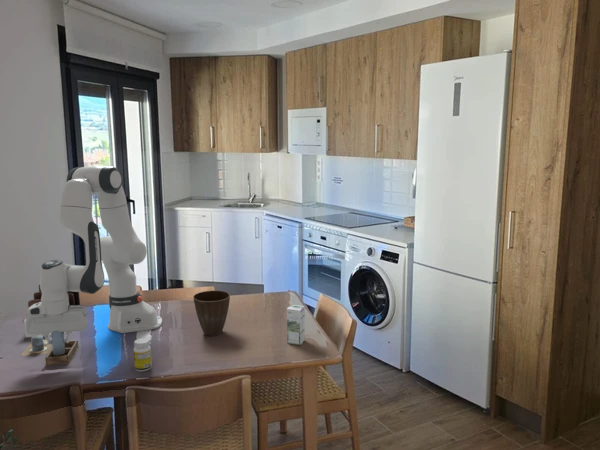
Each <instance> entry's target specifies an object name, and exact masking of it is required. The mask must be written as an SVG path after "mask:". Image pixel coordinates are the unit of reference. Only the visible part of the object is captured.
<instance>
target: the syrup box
mask: <svg viewBox="0 0 600 450" xmlns="http://www.w3.org/2000/svg"><path fill="white" fill-rule="evenodd" d="M305 308H306V306H305V305H297V304H290V305H289V306H288V307H287V308H286V343H287V345H288V344H290V345H297V346H301V345H302V344H303V343H304V342H305V341H304V340H306V338H305V337H306V334H305V331H306V330H305V326H306V325H305V323H306V322H305V314H306V313H305V310H306V309H305ZM303 341H304V342H303Z"/></svg>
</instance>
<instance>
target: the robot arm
mask: <svg viewBox="0 0 600 450" xmlns="http://www.w3.org/2000/svg"><path fill="white" fill-rule="evenodd" d="M122 176H123V175H122V174H121V172H120V170H119V169H118V168H117V167H115V166H112V165H90V166H89V165H88V166H77V167H73V168H72V169H71V170H69V171H68V173H67V176H66V183H65V184H64V188H63V191H62V193H61V199H60V204H59V205H60V206H59V213H58V215H59V216H58V217H59V221H60V223H61V225H62V227H63V228H64V229H66V230H67V231H68V232H71V233H73V234H75V235H76V236H78V237H80V238H81V239H82V240H83V243H84V248H85V260H86V261H85V265H78V264H77V265H76V264H67V263H65V262H64V261H63V260H61V259H52V260H51V259H50V260H47V261H45V262H44V263H42V264H41V265H40V269H39V284H40V289H41V292H42V297H41V302H39V303H36V304H33V305H32V306H31V307H29V308H28V309H27V310H26V314H27V316H26V317H25V319H26V322H25V323H24V331H25V330H26V332H27V333H28V334H39V333H43V338H44V339H46V340H47V344H48V345H49V344H52V337H51V336H49V335H48V334H49V333H53V331H59V332H64V333H65V335H66V337H65V336H64V339H63V341H64V343H69V341H70V336H71V335H72V332H83V331H85V330H86V329H87V327H88V326H89V325H88V324H89V323H88V318H87V315H88V309H87V307H86V306H84V305H83V304H80V305H69V298H68V294H67V291H72V292H79V293H83V294H89V295H93V294H95V293H97V292H98V291H99V290H101V288H103V286H104V284H105V273H104V268H105V271H106V274H107V277H108V278H107V280H108V286H109V290H108V291H109V295H108V306H109V309H110V311H109V319H108V320H109V321H108V325H107V329H108V330H110V331H113V332H117V333H119V334H126V333H127V334H128V333H134V332H140V331H141V332H143V331H148V330H157V329H159V328H160V327H161V326H162V324H163V318H162V317H160V316H158V314H157V311H156V309H155V307H154V306H152V305H150V304H148V303H147V302H145V301H144V300H143V294H142V292H138V289H137V288H138V285H137V275H136V274H135V272H134V271H133V269H131V266H130V265H137V264H141V263H143V261H144V260H145V259H146V257H147V251H148V250H147V246H146V244H145V243H144V242H143V241H142V240H141V239H140V238H139V236H138V235H137V233H136V231H135V229H134V227H133V225H132V222H131V217H130V214H129V213H130V212H129V207H128V201H127V197H126V194H125V189H124V187H123V184H122V183H123V177H122ZM94 195H97V204H98V210H99V215H100V222H101V226H102V227H103V229H105V230H106V231H107V233H108V234H109V235H106V236H102V237H101V235H100V228H99V225H98V224H97V223H96V222H95V221H94V217H93V215H92V214H93V212H92V211H93V196H94ZM103 266H104V268H103Z"/></svg>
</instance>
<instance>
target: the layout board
mask: <svg viewBox="0 0 600 450" xmlns="http://www.w3.org/2000/svg"><path fill="white" fill-rule="evenodd" d="M30 340H31V342H30V343H29V344H28V346H27V347H26V348H25V349H24V351H23V352H22V353H21V354H20V355H19V356H20V357H24V356H25V357H27V356H37V355H39V356H40V355H41V356H42V355H48V353H49V352H50V351H51V349H52V348H53V347H52V344H49V345H48V344H47V340H46V339H45V338H44V336H42V335H37V336H33V337H30Z"/></svg>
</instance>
